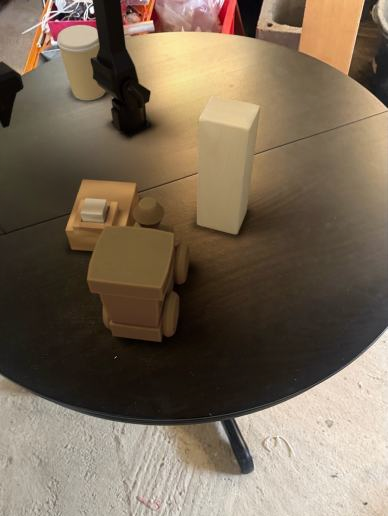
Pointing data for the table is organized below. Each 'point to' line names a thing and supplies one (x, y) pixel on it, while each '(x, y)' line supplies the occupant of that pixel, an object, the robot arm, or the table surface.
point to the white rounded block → (94, 210)
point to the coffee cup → (80, 60)
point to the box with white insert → (119, 212)
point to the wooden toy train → (139, 274)
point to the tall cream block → (225, 162)
